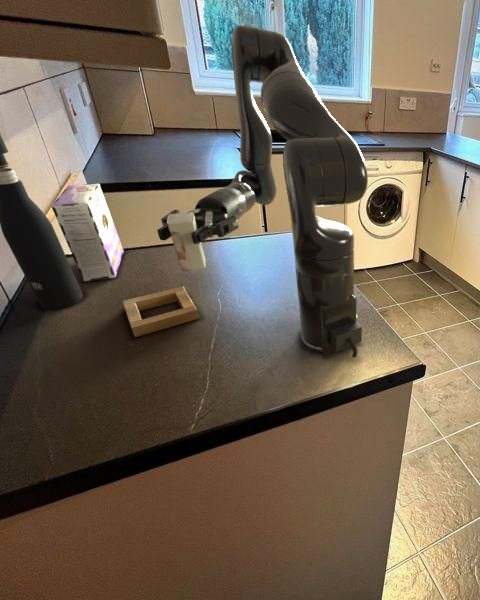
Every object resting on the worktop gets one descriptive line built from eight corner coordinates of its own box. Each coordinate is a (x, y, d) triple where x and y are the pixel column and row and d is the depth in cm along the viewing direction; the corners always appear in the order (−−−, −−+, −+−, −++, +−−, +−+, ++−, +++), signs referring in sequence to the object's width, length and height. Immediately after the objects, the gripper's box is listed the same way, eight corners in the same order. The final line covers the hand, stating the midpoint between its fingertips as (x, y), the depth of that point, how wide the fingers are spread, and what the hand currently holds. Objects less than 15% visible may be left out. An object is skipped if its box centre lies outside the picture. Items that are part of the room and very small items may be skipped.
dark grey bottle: (84, 288, 76) (13, 126, 60) (81, 304, 71) (4, 133, 55) (43, 295, 73) (-43, 126, 57) (37, 312, 68) (-58, 133, 52)
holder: (199, 318, 70) (197, 309, 69) (135, 337, 64) (131, 328, 63) (185, 294, 76) (182, 286, 75) (125, 309, 71) (122, 300, 70)
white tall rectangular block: (182, 260, 77) (168, 213, 72) (205, 258, 79) (194, 211, 73) (180, 272, 73) (166, 223, 68) (205, 269, 75) (193, 220, 69)
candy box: (95, 255, 88) (66, 184, 80) (125, 251, 91) (100, 182, 82) (82, 282, 78) (48, 204, 69) (116, 278, 80) (87, 201, 71)
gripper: (188, 188, 82) (134, 214, 68) (251, 194, 82) (210, 222, 67) (195, 221, 87) (146, 251, 72) (256, 227, 86) (218, 259, 72)
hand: (177, 237), depth 70 cm, fingers closed on white tall rectangular block, 6 cm apart
